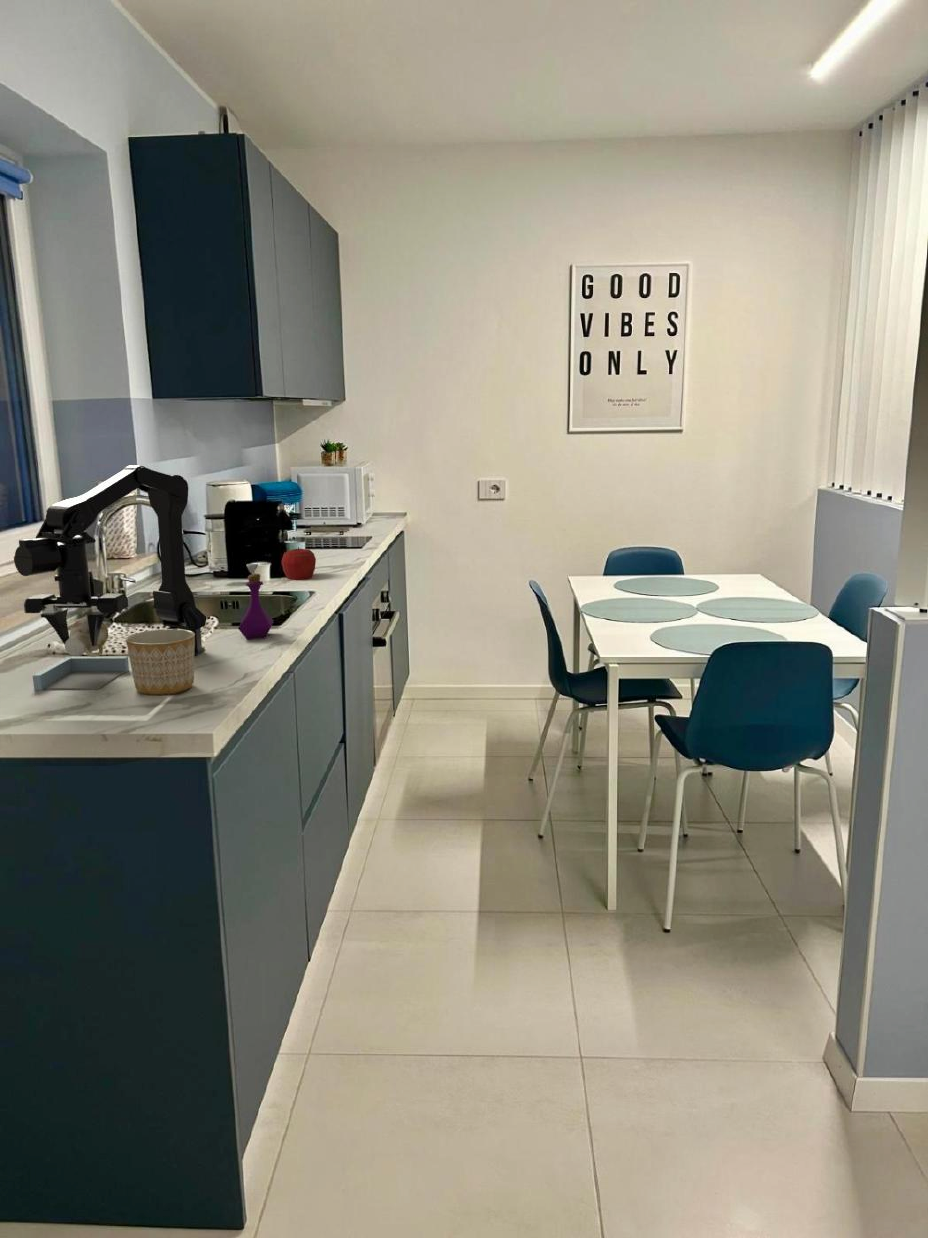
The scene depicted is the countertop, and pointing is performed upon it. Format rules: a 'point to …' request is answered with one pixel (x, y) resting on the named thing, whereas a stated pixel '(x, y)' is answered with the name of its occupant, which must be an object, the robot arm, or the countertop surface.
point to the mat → (85, 680)
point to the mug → (85, 639)
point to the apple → (298, 564)
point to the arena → (77, 668)
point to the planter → (162, 660)
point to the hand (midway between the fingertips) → (81, 645)
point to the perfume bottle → (255, 610)
